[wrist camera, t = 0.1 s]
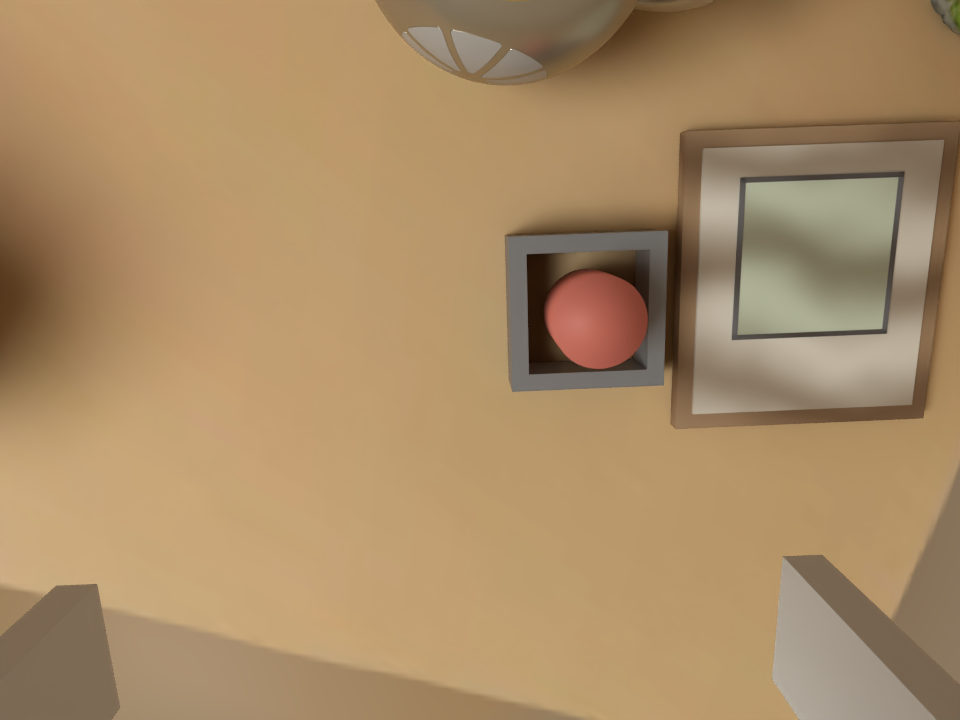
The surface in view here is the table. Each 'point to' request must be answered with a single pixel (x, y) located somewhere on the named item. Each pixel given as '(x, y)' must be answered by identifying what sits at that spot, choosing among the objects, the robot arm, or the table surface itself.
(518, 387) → the button housing
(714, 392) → the picture board
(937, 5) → the figurine
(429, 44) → the teapot
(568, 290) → the button
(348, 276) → the table surface
